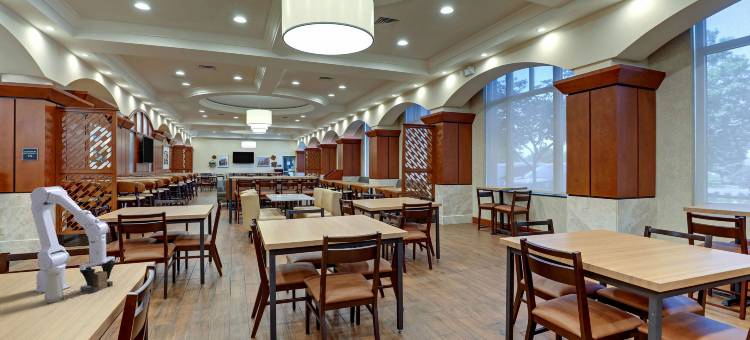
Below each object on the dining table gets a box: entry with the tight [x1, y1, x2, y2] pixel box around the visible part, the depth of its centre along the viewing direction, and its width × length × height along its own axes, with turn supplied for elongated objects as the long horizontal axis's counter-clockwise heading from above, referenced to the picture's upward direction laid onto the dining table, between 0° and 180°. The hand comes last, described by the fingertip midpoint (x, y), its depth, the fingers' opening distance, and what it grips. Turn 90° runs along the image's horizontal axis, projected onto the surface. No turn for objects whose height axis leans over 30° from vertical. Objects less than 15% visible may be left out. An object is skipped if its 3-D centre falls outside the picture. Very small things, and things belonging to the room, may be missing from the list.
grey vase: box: [43, 267, 65, 304], centre depth 142 cm, size 6×6×13 cm
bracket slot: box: [79, 280, 114, 293], centre depth 157 cm, size 7×9×2 cm
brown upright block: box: [91, 270, 108, 292], centre depth 156 cm, size 4×4×7 cm
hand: (98, 282), depth 156 cm, fingers open, 7 cm apart
